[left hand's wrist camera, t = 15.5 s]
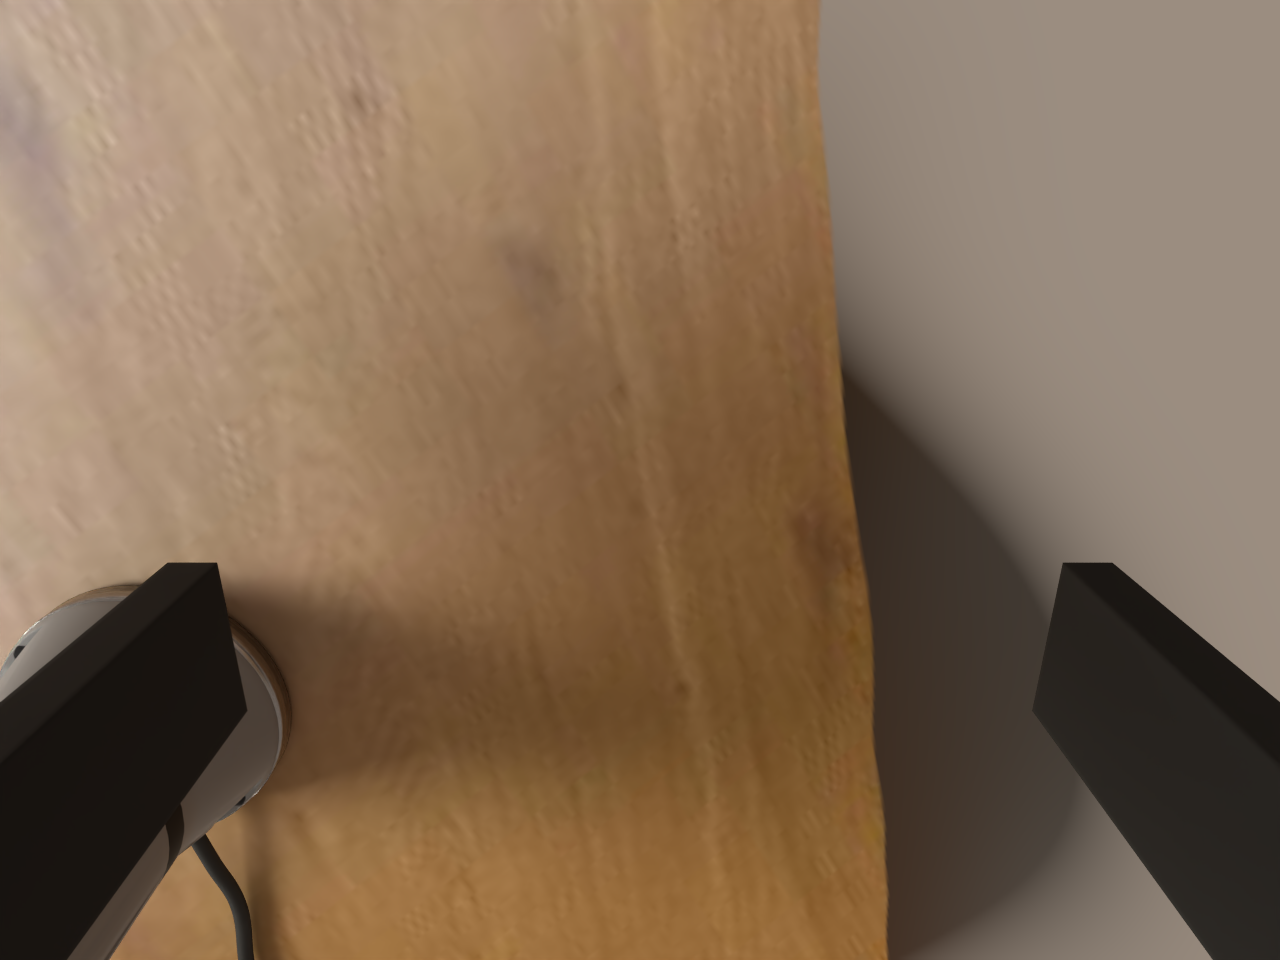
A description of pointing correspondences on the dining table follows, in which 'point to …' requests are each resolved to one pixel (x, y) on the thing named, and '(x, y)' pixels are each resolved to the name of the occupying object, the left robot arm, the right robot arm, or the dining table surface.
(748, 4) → the dining table surface
